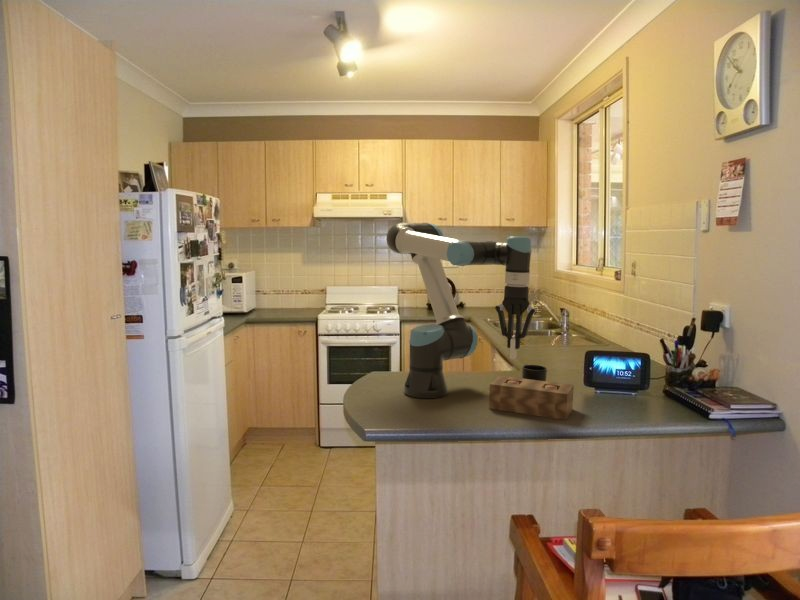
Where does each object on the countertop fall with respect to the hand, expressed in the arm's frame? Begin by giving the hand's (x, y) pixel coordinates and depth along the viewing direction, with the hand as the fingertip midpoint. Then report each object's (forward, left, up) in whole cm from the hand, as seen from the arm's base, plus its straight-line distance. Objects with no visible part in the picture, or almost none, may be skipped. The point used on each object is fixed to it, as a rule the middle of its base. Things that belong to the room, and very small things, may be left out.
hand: (512, 358), depth 180 cm
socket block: (+6, 0, -16) cm, 17 cm away
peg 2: (+12, 0, -15) cm, 20 cm away
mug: (+2, +19, -16) cm, 25 cm away
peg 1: (0, 0, -15) cm, 15 cm away
